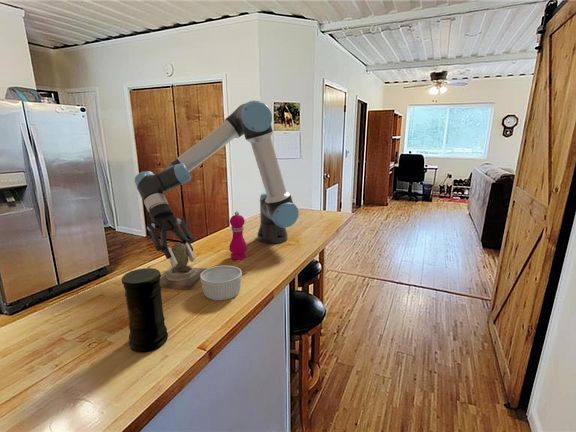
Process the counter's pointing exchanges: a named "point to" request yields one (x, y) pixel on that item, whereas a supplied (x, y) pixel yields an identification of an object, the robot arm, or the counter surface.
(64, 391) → the counter surface
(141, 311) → the container
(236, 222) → the pepper mill
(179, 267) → the decorative egg
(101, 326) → the counter surface
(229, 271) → the ramekin
